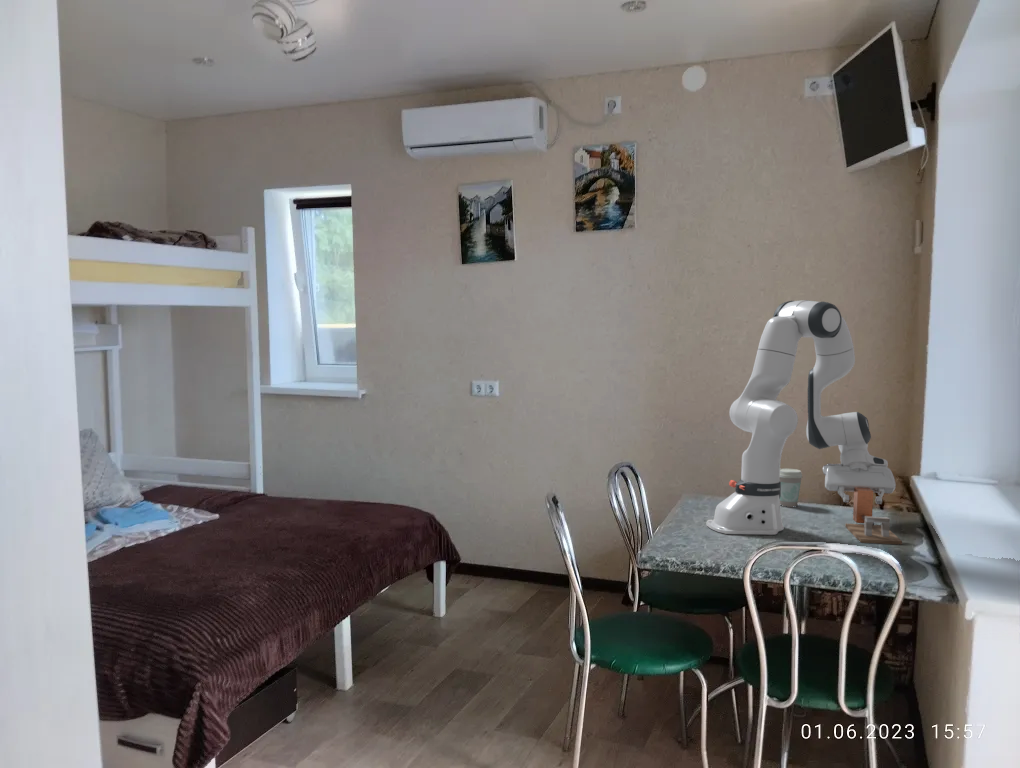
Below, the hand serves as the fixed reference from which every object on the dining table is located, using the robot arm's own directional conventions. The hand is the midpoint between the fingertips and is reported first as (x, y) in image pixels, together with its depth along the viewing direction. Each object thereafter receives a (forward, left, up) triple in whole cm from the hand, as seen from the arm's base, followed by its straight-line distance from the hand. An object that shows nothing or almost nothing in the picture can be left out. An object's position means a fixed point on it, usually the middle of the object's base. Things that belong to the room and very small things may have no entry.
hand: (862, 502), depth 250 cm
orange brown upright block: (-1, -4, -6) cm, 7 cm away
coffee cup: (-9, +28, -7) cm, 31 cm away
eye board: (-4, -11, -7) cm, 14 cm away
